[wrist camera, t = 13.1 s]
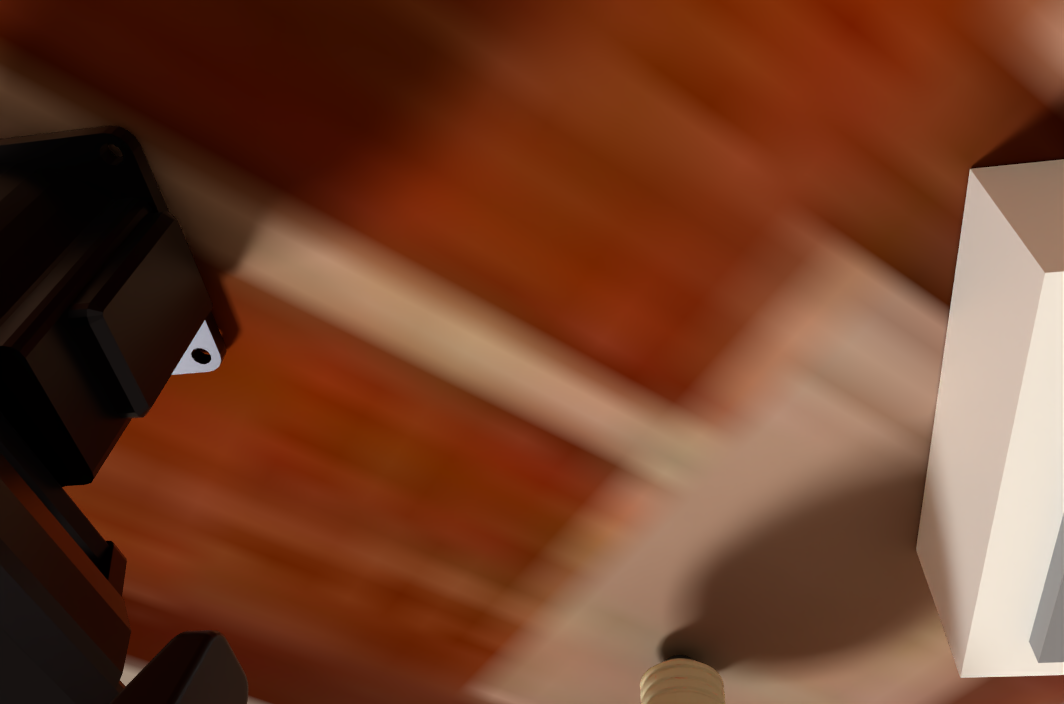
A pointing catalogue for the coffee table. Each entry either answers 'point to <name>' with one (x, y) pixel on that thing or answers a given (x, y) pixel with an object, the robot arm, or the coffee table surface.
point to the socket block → (1002, 432)
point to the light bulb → (681, 683)
